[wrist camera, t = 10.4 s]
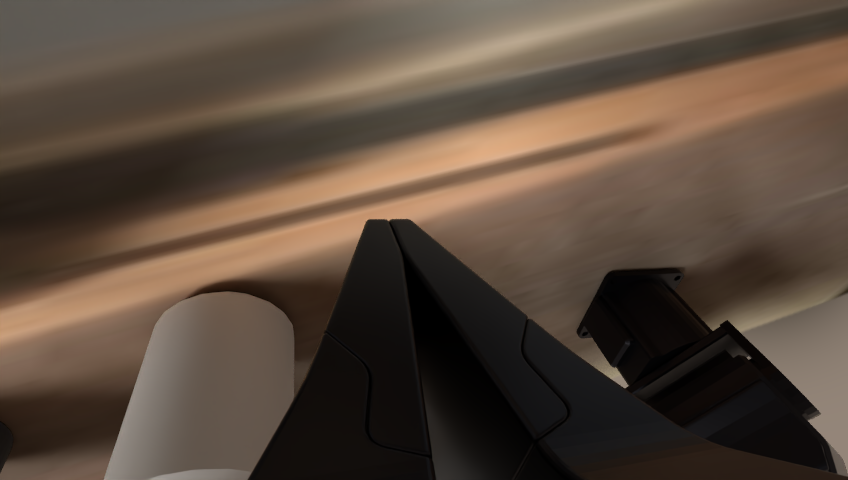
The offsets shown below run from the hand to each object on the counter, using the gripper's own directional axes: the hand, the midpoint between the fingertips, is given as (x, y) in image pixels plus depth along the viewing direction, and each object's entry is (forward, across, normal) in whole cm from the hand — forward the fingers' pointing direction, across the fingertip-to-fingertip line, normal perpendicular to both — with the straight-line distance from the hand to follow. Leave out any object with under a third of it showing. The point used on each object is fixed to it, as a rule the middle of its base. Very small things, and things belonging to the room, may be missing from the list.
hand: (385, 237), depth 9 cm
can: (+13, +6, +16) cm, 21 cm away
